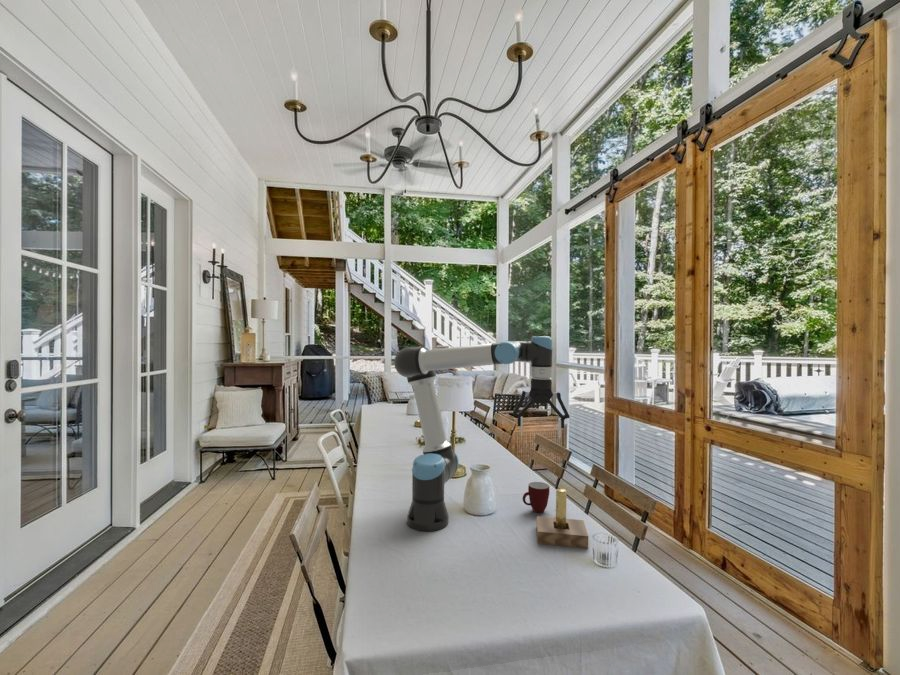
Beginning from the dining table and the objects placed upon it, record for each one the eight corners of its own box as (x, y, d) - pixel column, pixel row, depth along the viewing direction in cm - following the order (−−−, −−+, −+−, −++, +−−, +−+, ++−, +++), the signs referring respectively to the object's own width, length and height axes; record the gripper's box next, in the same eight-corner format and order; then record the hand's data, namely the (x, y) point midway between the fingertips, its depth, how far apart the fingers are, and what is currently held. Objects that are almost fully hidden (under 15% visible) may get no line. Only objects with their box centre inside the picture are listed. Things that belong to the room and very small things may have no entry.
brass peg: (555, 539, 141) (556, 491, 141) (555, 534, 145) (555, 488, 144) (566, 540, 141) (567, 492, 141) (565, 535, 144) (566, 489, 144)
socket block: (537, 543, 138) (537, 531, 138) (536, 527, 150) (536, 516, 150) (588, 548, 135) (588, 536, 135) (583, 531, 147) (583, 520, 147)
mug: (528, 517, 158) (529, 490, 158) (518, 508, 166) (519, 483, 166) (553, 513, 162) (553, 487, 161) (542, 505, 169) (542, 480, 169)
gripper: (506, 378, 152) (505, 436, 152) (577, 380, 148) (576, 440, 148) (507, 376, 159) (506, 432, 159) (575, 378, 155) (574, 435, 155)
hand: (540, 436), depth 154 cm, fingers open, 13 cm apart
